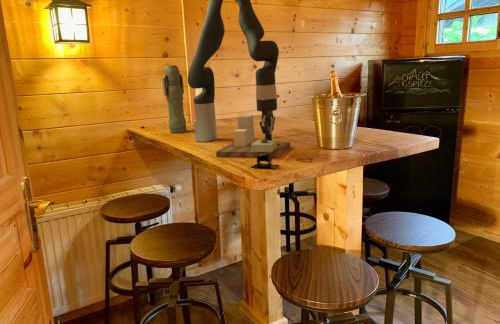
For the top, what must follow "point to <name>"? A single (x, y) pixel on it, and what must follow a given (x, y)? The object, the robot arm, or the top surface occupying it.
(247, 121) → the skincare box
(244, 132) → the cream block
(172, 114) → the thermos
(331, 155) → the top surface
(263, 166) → the black stand
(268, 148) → the lid
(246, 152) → the puzzle board
